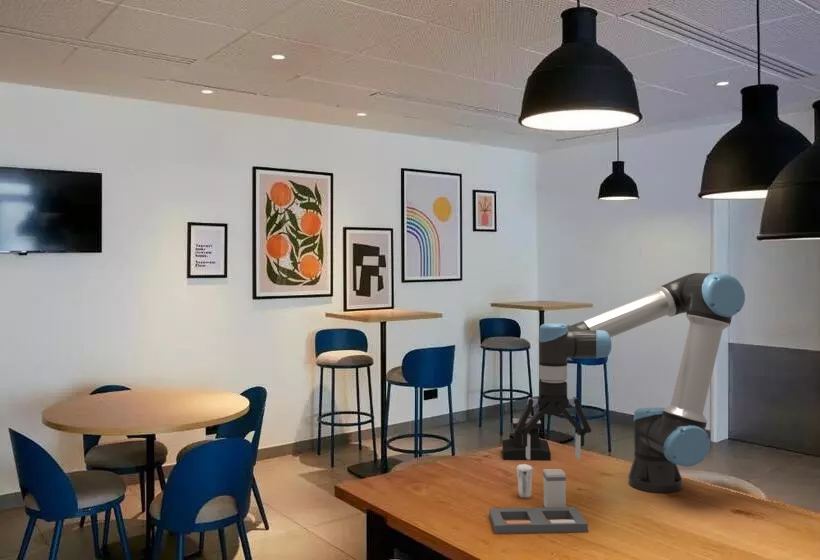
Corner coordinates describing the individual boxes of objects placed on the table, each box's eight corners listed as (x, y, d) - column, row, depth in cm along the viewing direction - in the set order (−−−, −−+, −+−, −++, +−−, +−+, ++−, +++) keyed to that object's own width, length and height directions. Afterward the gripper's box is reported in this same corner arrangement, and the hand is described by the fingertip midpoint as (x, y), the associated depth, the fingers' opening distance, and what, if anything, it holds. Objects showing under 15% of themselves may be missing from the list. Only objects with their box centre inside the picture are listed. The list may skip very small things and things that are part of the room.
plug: (561, 504, 190) (561, 468, 189) (566, 511, 184) (565, 474, 184) (543, 505, 190) (543, 469, 189) (547, 511, 184) (546, 474, 184)
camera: (503, 422, 233) (501, 409, 248) (503, 463, 234) (502, 447, 249) (550, 422, 231) (546, 409, 246) (550, 463, 233) (546, 448, 248)
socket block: (575, 514, 182) (575, 505, 182) (587, 531, 170) (587, 522, 170) (489, 516, 182) (489, 507, 182) (495, 533, 170) (495, 524, 170)
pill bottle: (535, 499, 194) (535, 464, 194) (516, 498, 195) (516, 463, 195) (535, 494, 199) (535, 459, 198) (517, 493, 200) (516, 459, 200)
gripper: (595, 378, 190) (594, 454, 191) (505, 378, 190) (505, 454, 190) (602, 382, 183) (602, 461, 183) (509, 382, 182) (509, 462, 183)
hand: (552, 458), depth 187 cm, fingers open, 13 cm apart
